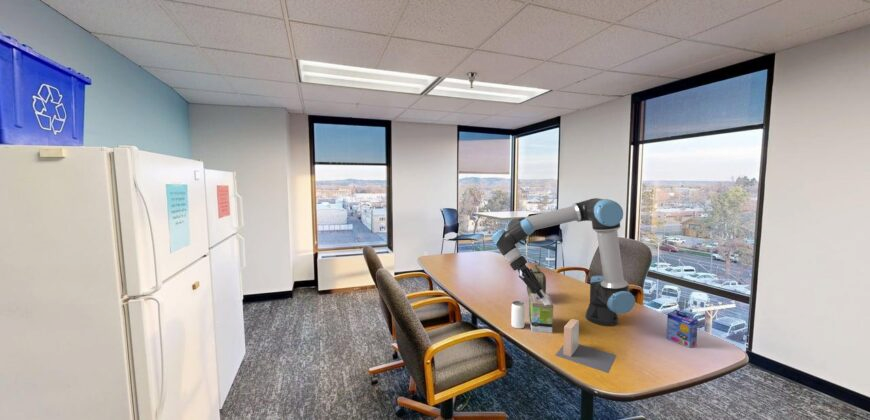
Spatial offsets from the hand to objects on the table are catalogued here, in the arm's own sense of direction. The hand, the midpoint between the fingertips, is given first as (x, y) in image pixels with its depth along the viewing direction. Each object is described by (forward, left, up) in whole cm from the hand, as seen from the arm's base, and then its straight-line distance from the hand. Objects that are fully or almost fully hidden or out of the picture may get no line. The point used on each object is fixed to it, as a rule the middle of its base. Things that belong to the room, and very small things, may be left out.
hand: (547, 303), depth 144 cm
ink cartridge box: (-60, -10, -19) cm, 63 cm away
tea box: (0, -17, -19) cm, 25 cm away
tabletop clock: (-3, -53, -19) cm, 56 cm away
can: (+11, -16, -19) cm, 27 cm away
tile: (-9, +6, -18) cm, 21 cm away
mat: (-14, +9, -18) cm, 25 cm away
